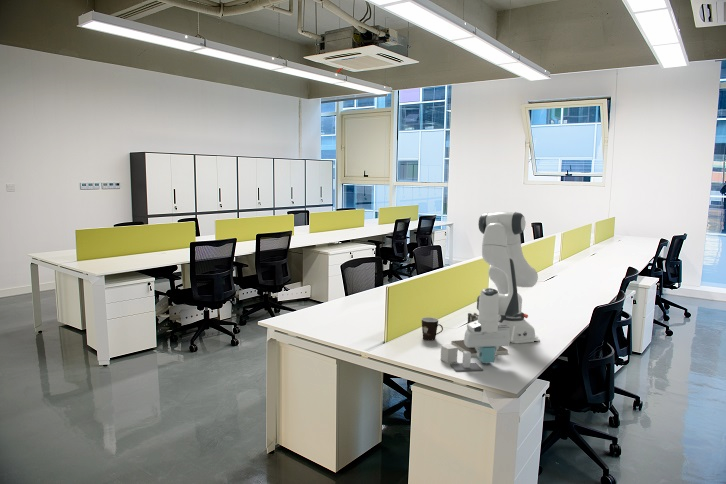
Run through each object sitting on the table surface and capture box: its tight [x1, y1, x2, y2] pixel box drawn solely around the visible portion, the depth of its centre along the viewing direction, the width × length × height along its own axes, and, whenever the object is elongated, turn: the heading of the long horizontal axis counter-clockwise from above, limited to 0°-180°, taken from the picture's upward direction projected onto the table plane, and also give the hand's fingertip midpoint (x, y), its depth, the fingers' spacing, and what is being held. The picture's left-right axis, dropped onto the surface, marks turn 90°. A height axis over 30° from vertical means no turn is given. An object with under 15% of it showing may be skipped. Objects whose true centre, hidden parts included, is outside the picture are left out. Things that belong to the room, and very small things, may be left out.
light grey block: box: [440, 343, 459, 364], centre depth 222 cm, size 5×5×7 cm
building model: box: [450, 312, 509, 358], centre depth 238 cm, size 20×20×18 cm
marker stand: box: [449, 351, 484, 373], centre depth 214 cm, size 12×8×7 cm, turn 98°
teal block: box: [477, 347, 495, 364], centre depth 219 cm, size 5×5×7 cm
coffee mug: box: [421, 316, 444, 342], centre depth 251 cm, size 12×9×10 cm
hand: (486, 355), depth 219 cm, fingers closed on teal block, 5 cm apart
